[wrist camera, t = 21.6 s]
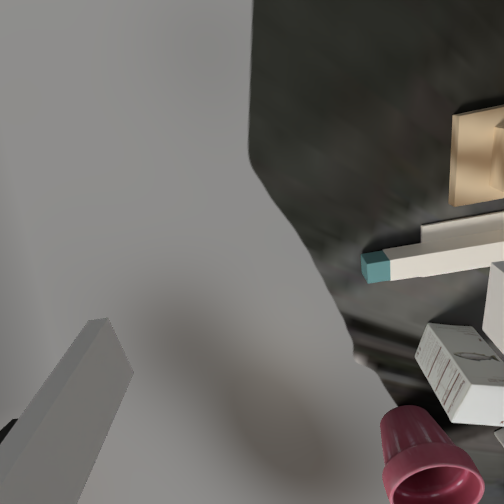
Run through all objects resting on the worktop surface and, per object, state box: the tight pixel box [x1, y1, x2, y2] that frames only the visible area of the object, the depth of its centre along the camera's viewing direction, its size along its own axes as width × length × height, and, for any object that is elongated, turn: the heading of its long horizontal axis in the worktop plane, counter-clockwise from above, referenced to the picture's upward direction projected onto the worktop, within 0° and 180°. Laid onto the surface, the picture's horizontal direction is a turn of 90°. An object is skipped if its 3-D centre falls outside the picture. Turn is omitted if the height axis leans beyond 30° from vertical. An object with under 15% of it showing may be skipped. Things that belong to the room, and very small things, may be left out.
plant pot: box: [380, 405, 485, 504], centre depth 58 cm, size 14×14×13 cm
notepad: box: [421, 211, 504, 277], centre depth 48 cm, size 8×15×1 cm, turn 101°
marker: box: [361, 229, 504, 283], centre depth 46 cm, size 3×21×3 cm, turn 101°
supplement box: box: [415, 323, 504, 427], centre depth 50 cm, size 7×7×13 cm
